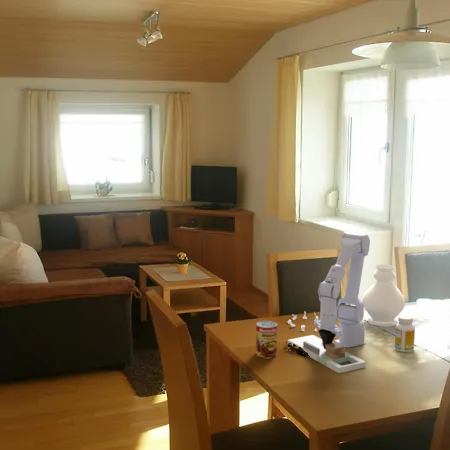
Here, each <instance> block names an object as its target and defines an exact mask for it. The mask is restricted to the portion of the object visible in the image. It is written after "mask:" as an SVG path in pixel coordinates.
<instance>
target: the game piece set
mask: <svg viewBox="0 0 450 450" xmlns="http://www.w3.org/2000/svg"><path fill="white" fill-rule="evenodd" d="M303 313H304V315H303V316H302V319H303V320H307V319H308V317H307V315H306V314H307V312H306V311H304V312H303ZM291 315H292V316H293V317H292V320H293V321H296V319H297V316H298V315H297V314H291ZM314 316H315V318H314V320H317V319H320V317H319V316H318V315H316V312H314ZM292 320H291V319H290V318H289V320H287V323H288V324H287V325H289V326H290V327H291V328H295V327H296V324H294V323H293V322H292ZM300 328H301V329H300V331H301V332H305V331H306V330H305V328H306V325H305V324H302V325H301V326H300ZM314 332H316V333H317V332H318V328H315V329H314Z"/></svg>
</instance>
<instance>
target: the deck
mask: <svg viewBox="0 0 450 450" xmlns="http://www.w3.org/2000/svg"><path fill="white" fill-rule="evenodd" d="M288 343H293V344H295V345H296V346H298V347H301V348H302V349H303V350H304V351H305V352H307V353H308V355H309V356H310V357H309V356H308V357H309V358H311V359H313V360H314V361H316V362H318V363H319V364H322V365H323V366H325V367H326V368H329V370H332V371H334V372H335V373H337V374H342V373H345V372H350V371H355V370H359V369H363V368H366V363H367V362H366V361H365V360H363V359H362V358H359V357H357V356H355V355H353V354H351V353H349V352H347V351H346V350H345V357H343V358H338V359H332V358H330V357H328V356H326V355H325V351H326V349H324V347H323V342H322V339H321V337H318V336H316V335H314V334H310V335H305V336H301V337H300V336H299V337H295V338H290V339H288V340H287V344H288ZM332 343H336V342H335V341H333V342H332Z"/></svg>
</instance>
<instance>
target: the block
mask: <svg viewBox="0 0 450 450" xmlns="http://www.w3.org/2000/svg"><path fill="white" fill-rule="evenodd" d="M345 351H346V347H345V346H343V345H341V344H339V343H337V342H335V343H331V344H326V351H325V355H326V356H328V357H330V358H332V359H338V358H343V357H345Z"/></svg>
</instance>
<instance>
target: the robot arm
mask: <svg viewBox="0 0 450 450" xmlns="http://www.w3.org/2000/svg"><path fill="white" fill-rule="evenodd" d="M341 234H342V235H341V237H340V248H341V249H340V251H339V254H338V257H337V260H336V263H335V264H333V265H331V267H330V268H329V271H328V273H327V275H326V277H325V278H324V281H322V282H320V283H319V285H318V288H317V294H318V299H319V301H320V312H319V313H320V314H319V315H320V317H319V318H318V319H314V320H313V325H314V326H317V332H318V334H319V336H320V339H322V342H323V347H324V349H326V344H331V343H332V342H335V343H336V342H337V343H339V344H341V345H343V346H345V348H352V347H357V346H362V345H366V342H365V336H366V334H365V333H366V330H365V328H366V327H365V324H364V322H363V319H364V315H365V311H364V310H365V308H364V304H363V301H361V299H359V293H360V287H361V282H362V274H363V268H364V263H365V257H367V256H368V255H369V251H370V245H371V239H370V236H369V235H368V234H366V233H365V234H363V233H357V232H356V233H355V232H349V231H344V232H343V233H341ZM349 261H350V264H349V270H348V277H347V280H346V281H347V283H346V287H345V288H346V289H345V294H344V296H343V297H341V298H339V300H337V299H338V297H339V296H340V294H341V293H340V292H341V287H342V285H341V284H342V281H343V280H344V277H345V275H346V266H347V264H348V263H349ZM337 301H338V302H337ZM337 319H338V322H339V327H338V326H337V323H336V322H337ZM336 336H337V337H338V338H339V339H335V337H336ZM334 339H335V340H334Z"/></svg>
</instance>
